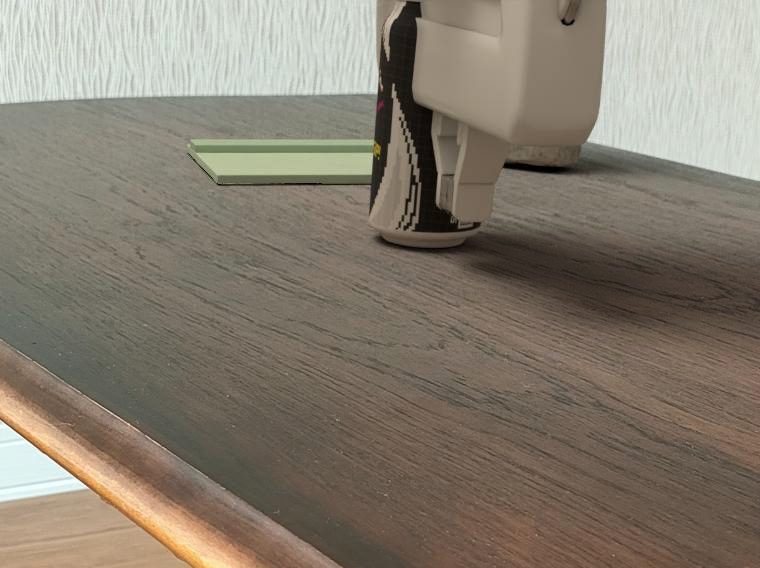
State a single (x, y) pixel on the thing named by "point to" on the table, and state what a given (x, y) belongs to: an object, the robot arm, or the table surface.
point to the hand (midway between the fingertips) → (462, 216)
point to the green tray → (285, 160)
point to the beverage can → (406, 148)
